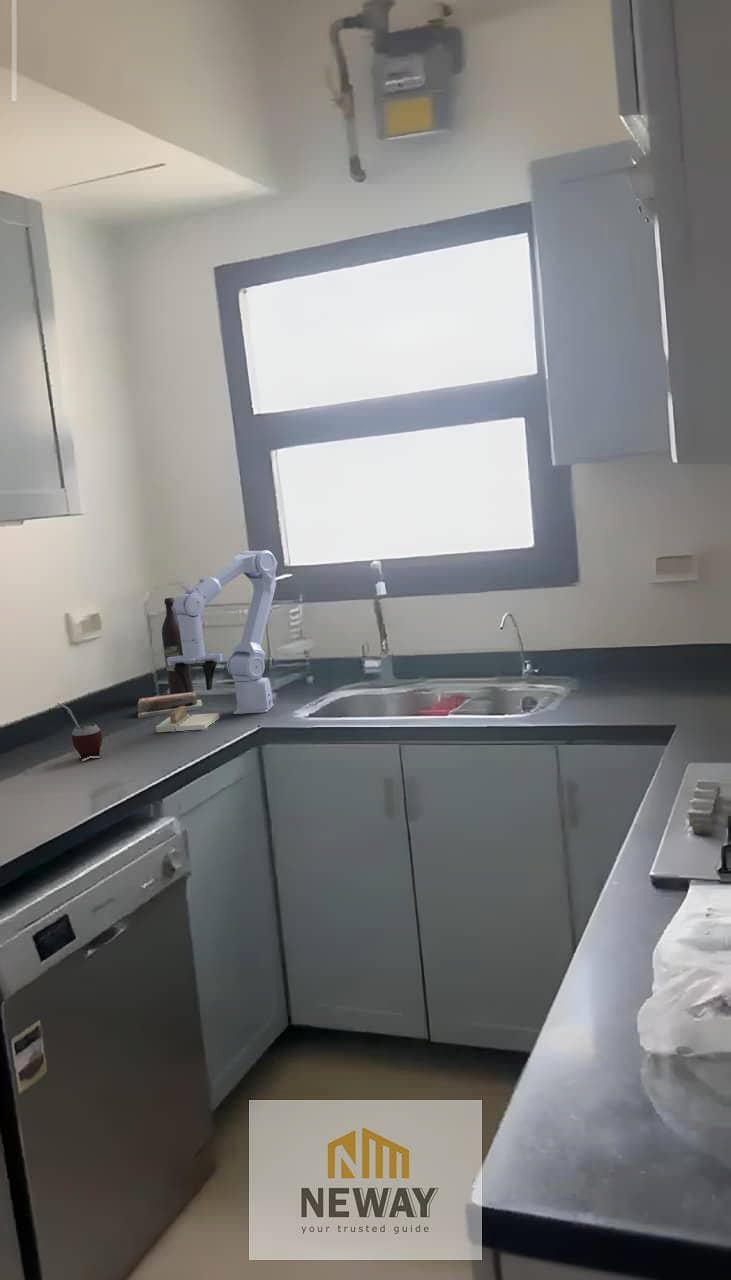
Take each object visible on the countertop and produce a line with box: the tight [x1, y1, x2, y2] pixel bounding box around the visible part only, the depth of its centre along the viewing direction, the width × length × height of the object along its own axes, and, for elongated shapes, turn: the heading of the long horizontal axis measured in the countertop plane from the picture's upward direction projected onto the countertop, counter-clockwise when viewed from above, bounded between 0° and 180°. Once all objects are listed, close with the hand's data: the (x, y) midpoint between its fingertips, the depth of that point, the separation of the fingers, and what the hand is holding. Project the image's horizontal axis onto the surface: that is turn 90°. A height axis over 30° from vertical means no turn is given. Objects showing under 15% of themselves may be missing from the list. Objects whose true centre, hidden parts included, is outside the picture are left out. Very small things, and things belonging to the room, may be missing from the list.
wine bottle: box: [161, 597, 195, 695], centre depth 317 cm, size 7×7×30 cm
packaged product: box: [137, 691, 203, 719], centre depth 303 cm, size 18×5×10 cm
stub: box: [155, 706, 190, 733], centre depth 282 cm, size 5×12×4 cm, turn 170°
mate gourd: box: [56, 702, 103, 760], centre depth 257 cm, size 8×8×15 cm
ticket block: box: [175, 712, 220, 732], centre depth 281 cm, size 8×12×2 cm, turn 170°
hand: (198, 690), depth 279 cm, fingers open, 5 cm apart
